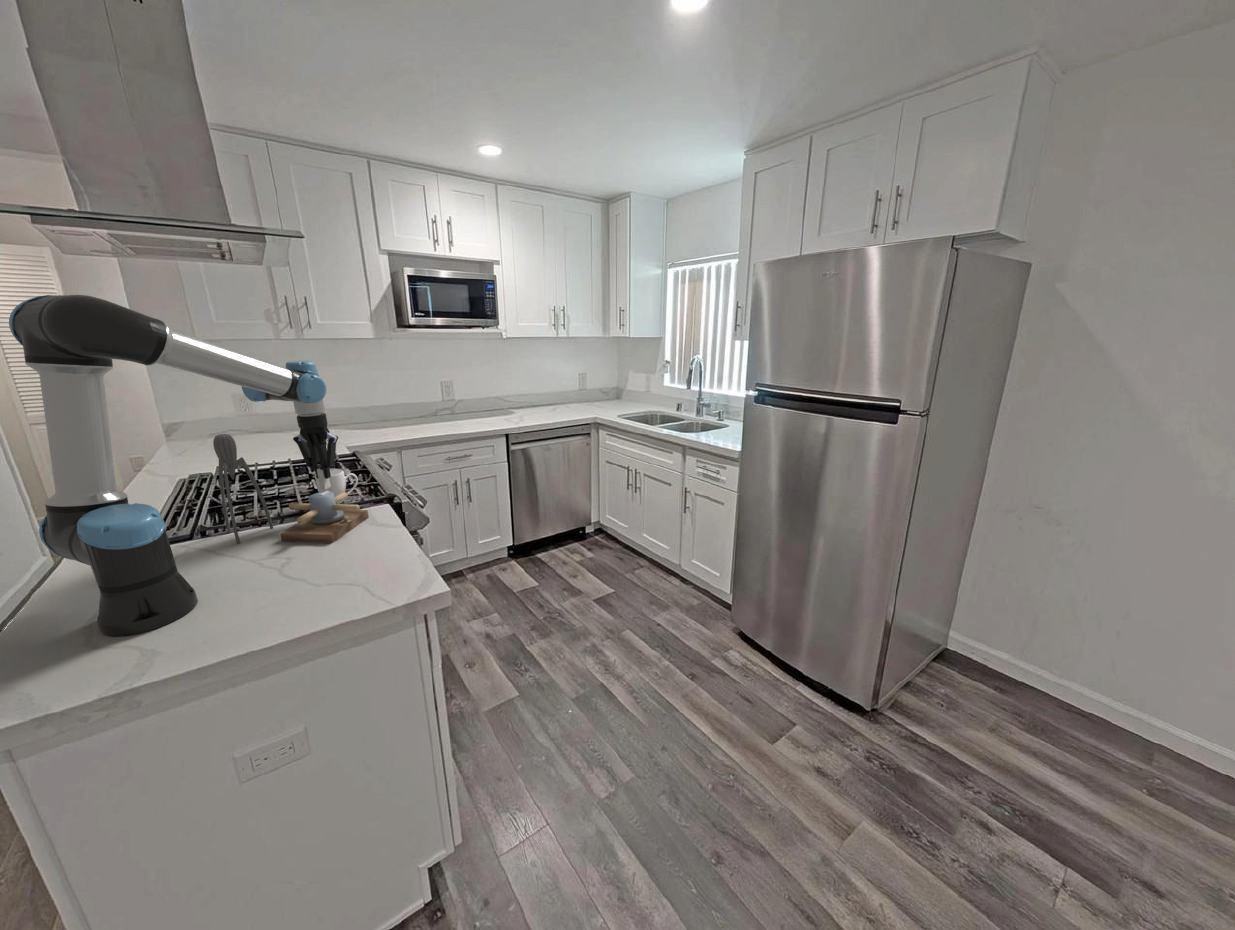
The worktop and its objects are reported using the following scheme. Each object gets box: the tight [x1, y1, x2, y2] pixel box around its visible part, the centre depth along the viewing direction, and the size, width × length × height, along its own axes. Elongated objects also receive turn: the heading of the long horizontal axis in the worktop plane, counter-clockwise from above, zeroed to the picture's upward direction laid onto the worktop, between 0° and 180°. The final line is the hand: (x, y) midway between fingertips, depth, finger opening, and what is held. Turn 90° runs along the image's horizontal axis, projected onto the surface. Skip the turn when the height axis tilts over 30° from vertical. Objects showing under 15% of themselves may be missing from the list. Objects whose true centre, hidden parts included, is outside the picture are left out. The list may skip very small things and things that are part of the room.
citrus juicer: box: [212, 433, 274, 545], centre depth 135 cm, size 11×10×30 cm
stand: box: [279, 509, 369, 544], centre depth 142 cm, size 18×15×4 cm
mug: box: [314, 468, 359, 504], centre depth 161 cm, size 12×8×11 cm
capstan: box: [288, 491, 361, 525], centre depth 141 cm, size 21×21×8 cm
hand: (325, 487), depth 150 cm, fingers closed
